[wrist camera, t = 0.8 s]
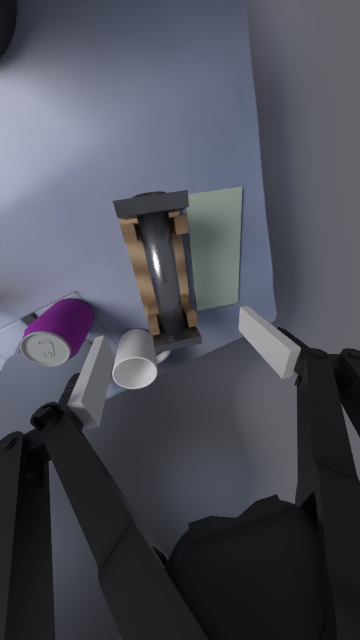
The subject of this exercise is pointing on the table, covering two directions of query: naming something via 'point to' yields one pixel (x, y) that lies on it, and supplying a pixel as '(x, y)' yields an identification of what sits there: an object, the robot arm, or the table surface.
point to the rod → (161, 263)
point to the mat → (215, 246)
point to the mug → (136, 360)
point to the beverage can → (57, 333)
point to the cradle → (142, 272)
